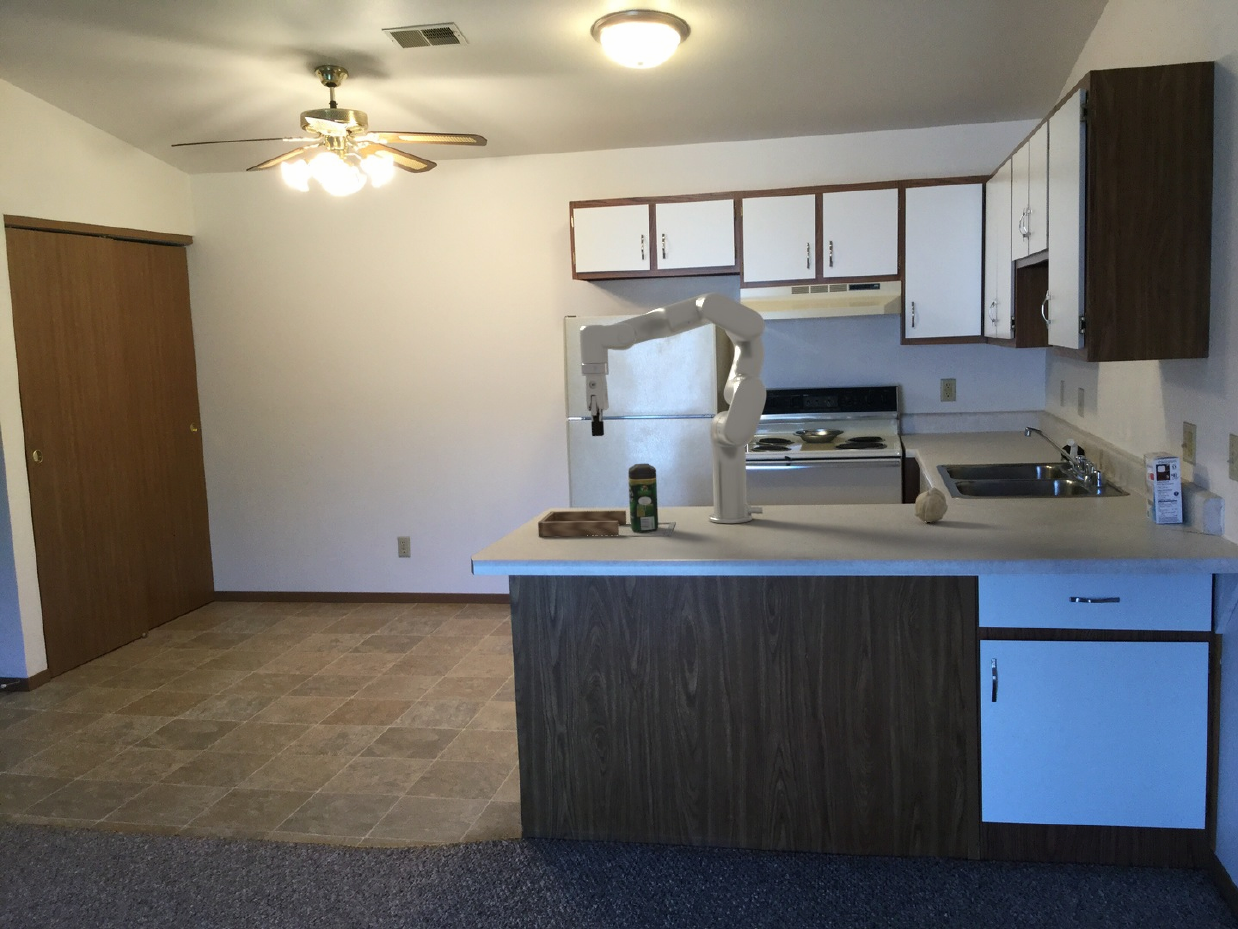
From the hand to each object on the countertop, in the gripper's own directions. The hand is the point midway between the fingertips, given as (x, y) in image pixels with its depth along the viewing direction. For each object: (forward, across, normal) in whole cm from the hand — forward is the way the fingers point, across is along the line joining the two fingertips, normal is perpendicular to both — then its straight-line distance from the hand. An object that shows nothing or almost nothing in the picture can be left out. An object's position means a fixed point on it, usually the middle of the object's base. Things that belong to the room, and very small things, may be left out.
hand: (598, 435), depth 271 cm
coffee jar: (+27, 0, -12) cm, 30 cm away
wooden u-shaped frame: (+27, 0, +5) cm, 27 cm away
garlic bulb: (+28, +5, -91) cm, 95 cm away
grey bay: (+27, 0, -13) cm, 30 cm away
